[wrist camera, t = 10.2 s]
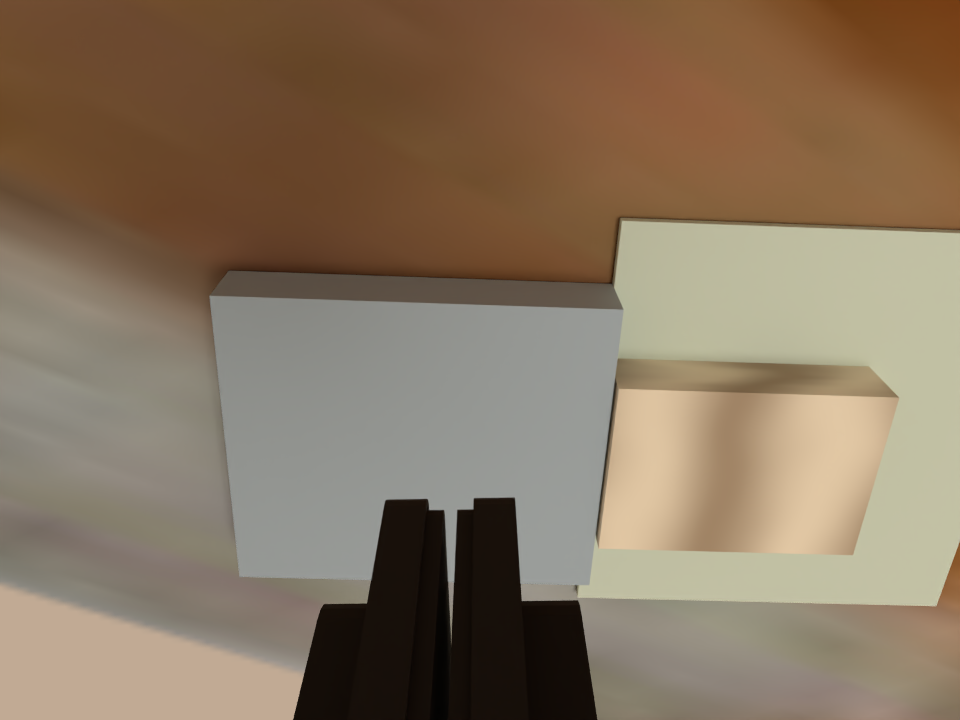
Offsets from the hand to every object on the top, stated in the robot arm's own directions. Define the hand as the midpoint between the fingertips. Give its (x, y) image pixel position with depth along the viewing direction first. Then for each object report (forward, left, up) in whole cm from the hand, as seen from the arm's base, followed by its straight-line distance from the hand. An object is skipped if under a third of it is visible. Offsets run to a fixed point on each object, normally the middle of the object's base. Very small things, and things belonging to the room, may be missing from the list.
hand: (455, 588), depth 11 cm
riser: (+1, +9, -20) cm, 22 cm away
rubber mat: (-14, +9, -20) cm, 26 cm away
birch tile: (-11, +9, -20) cm, 24 cm away
